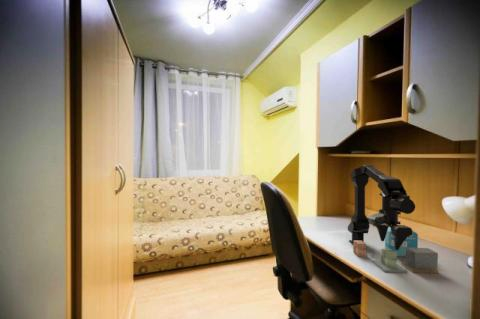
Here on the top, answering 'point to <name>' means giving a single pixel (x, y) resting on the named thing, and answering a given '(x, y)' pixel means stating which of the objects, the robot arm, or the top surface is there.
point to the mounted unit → (421, 260)
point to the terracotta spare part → (359, 248)
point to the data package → (408, 243)
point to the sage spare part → (388, 258)
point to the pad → (389, 269)
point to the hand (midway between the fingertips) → (389, 245)
